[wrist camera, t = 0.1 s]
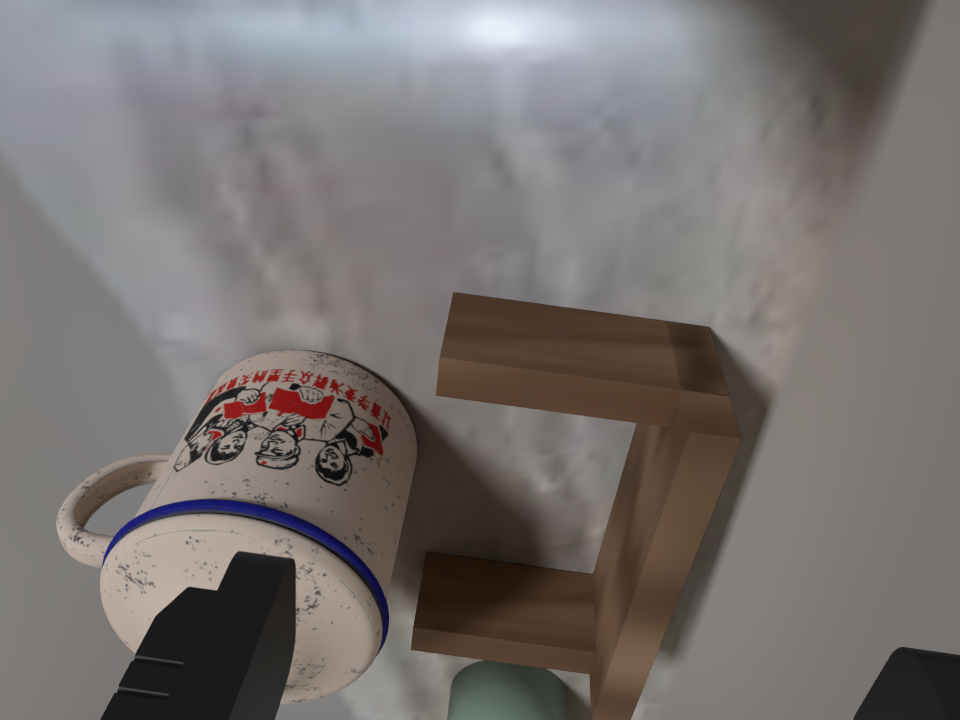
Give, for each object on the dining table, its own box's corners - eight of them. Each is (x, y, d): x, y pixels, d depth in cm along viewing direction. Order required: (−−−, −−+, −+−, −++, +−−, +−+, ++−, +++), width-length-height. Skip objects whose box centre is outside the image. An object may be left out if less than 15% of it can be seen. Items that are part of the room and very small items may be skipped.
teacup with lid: (427, 351, 29) (366, 614, 20) (422, 523, 35) (371, 797, 25) (108, 320, 30) (-104, 564, 20) (151, 495, 35) (-2, 754, 25)
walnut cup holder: (453, 292, 28) (431, 396, 23) (709, 326, 28) (742, 439, 23) (424, 574, 36) (403, 693, 32) (619, 600, 36) (628, 724, 32)
